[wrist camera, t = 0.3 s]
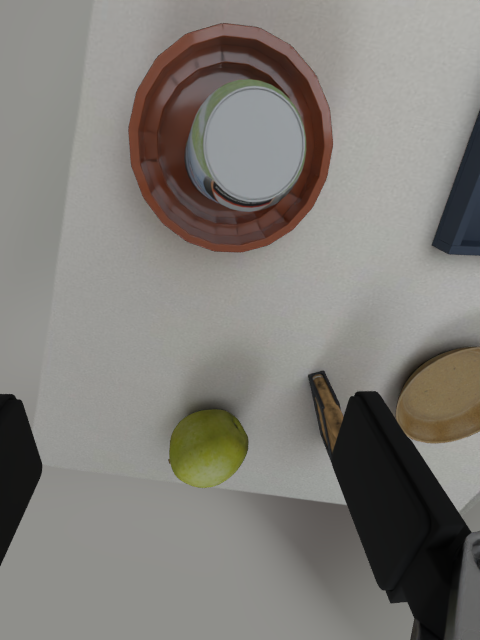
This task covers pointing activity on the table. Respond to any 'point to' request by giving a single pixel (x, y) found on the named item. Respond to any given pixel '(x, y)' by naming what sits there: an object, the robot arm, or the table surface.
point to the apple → (207, 448)
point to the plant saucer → (442, 398)
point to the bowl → (178, 116)
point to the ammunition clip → (326, 409)
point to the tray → (463, 205)
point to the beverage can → (246, 146)
